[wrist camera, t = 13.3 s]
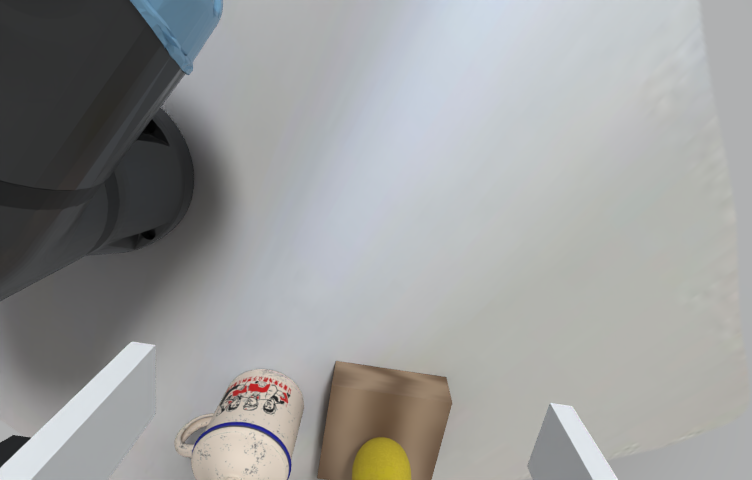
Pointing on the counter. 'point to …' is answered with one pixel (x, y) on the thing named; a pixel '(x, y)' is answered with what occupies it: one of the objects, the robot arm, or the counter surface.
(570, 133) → the counter surface
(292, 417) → the teacup with lid
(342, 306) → the counter surface
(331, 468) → the walnut plinth
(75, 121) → the robot arm
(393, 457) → the lemon
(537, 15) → the counter surface
